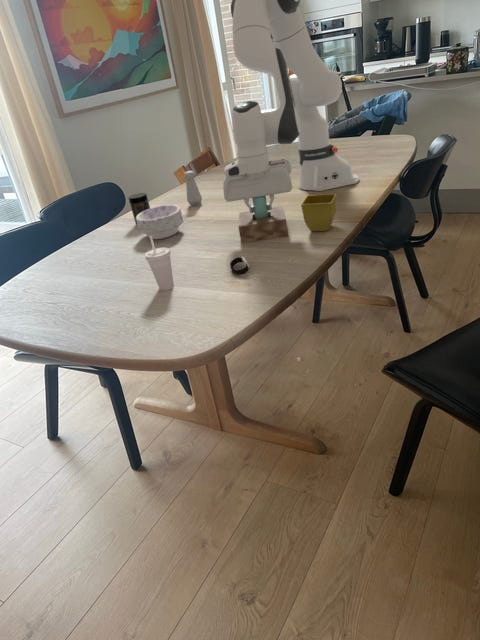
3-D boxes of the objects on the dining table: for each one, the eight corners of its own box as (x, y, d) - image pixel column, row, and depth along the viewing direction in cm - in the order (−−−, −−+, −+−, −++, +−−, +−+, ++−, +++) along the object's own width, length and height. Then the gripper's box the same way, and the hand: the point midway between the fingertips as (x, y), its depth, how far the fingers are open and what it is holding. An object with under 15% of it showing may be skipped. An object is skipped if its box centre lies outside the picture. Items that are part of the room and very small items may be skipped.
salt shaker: (200, 206, 183) (193, 172, 176) (186, 207, 184) (179, 174, 178) (204, 201, 188) (197, 168, 181) (191, 203, 189) (183, 170, 183)
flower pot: (338, 222, 141) (336, 193, 137) (334, 233, 134) (331, 202, 130) (309, 224, 144) (306, 195, 140) (303, 234, 137) (300, 204, 133)
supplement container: (152, 218, 179) (145, 191, 174) (155, 223, 173) (147, 195, 168) (135, 223, 178) (127, 195, 173) (137, 227, 172) (129, 199, 167)
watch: (253, 273, 120) (251, 260, 118) (236, 278, 119) (233, 265, 117) (244, 263, 126) (242, 251, 125) (227, 268, 125) (225, 255, 124)
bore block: (285, 221, 151) (283, 205, 148) (288, 235, 138) (286, 219, 136) (241, 227, 152) (239, 212, 150) (241, 243, 140) (238, 226, 137)
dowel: (269, 219, 145) (265, 193, 141) (269, 223, 142) (265, 197, 138) (256, 221, 146) (252, 195, 142) (256, 225, 142) (252, 199, 138)
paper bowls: (149, 246, 151) (142, 223, 147) (136, 236, 163) (129, 213, 160) (192, 232, 156) (187, 209, 152) (176, 223, 168) (171, 201, 165)
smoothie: (155, 284, 124) (141, 233, 117) (179, 279, 124) (166, 229, 117) (153, 294, 118) (138, 242, 111) (178, 290, 118) (165, 237, 111)
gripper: (289, 155, 137) (294, 202, 144) (220, 167, 139) (228, 212, 146) (290, 160, 132) (296, 208, 138) (219, 172, 134) (227, 219, 140)
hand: (260, 210), depth 142 cm, fingers closed on dowel, 4 cm apart
